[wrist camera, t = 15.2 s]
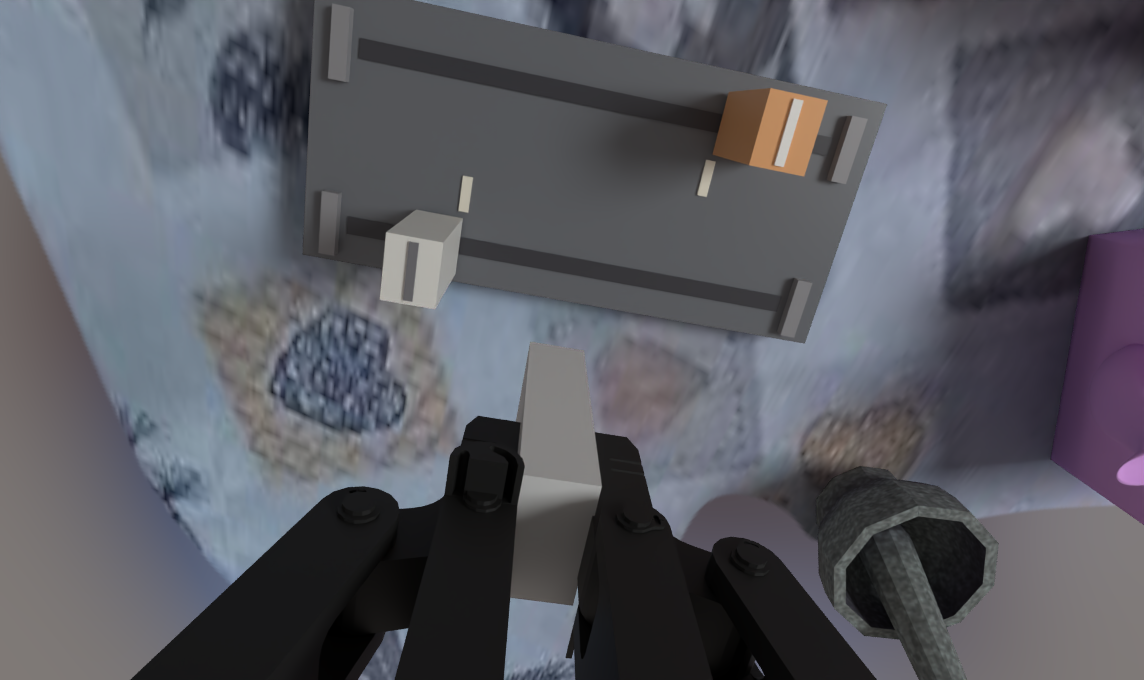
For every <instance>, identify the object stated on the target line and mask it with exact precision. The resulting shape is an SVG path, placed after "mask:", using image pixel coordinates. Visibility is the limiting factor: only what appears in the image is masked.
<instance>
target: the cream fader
mask: <svg viewBox="0 0 1144 680" xmlns="http://www.w3.org/2000/svg"><path fill="white" fill-rule="evenodd" d="M462 221H463V218H458V217H453V216H448V215H442V214H437V213H432V212H426V211H421V210H415V211H414V212H412V213H411V214H410V215H408V216H407V217H406V218H404V219H403V220H402V221H400V222H399V223H398V224H396V225H395V226H394V227H392V228H391V229H390V230H388V231H387V232H386V239H385V250H384V261H383V272H382V282H381V293H380V300H384V301H390V302H396V303H402V304H407V305H413V306H419V307H425V308H431V309H436V307H437V305H438V303H439V302H440V300H441V298H442V297H443V295H444V293H445V291H446V290H447V288H448V286H449V284H450V283H451V281H452V279H453V277H454V276H455V274H456V266H457V259H458V251H459V244H460V236H461V229H462Z"/></svg>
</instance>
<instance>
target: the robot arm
mask: <svg viewBox="0 0 1144 680" xmlns="http://www.w3.org/2000/svg"><path fill="white" fill-rule="evenodd" d="M577 586H578V598H579V605H578V609H577V613H576V617H575V621H574V625H573V629H572V633H571V637H570V641H569V645H568V649H567V654H566V658H572V655H573V651H574V657H575V680H877V679H876V678H875V677H874V676H873V675H872V673H871V672H870V671H869V669H868V668H867V667H866V666H865V664H864V663H863V662H862V661H861V659H860V658H859V657H858V656H857V654H856V653H855V652H854V651H853V649H852V648H851V647H850V646H849V644H848V643H847V642H846V641H845V640H844V638H843V637H842V636H841V634H840V633H839V632H838V631H837V629H836V628H835V627H834V626H833V625H832V623H831V622H830V621H829V620H828V618H827V617H826V616H825V615H824V613H823V612H822V611H821V610H820V608H819V607H818V606H817V605H816V604H815V602H814V601H813V600H812V598H811V597H810V596H809V595H808V594H807V592H806V591H805V590H804V589H803V587H802V586H801V585H800V584H799V582H798V581H797V580H796V578H795V577H794V576H793V575H792V574H791V572H790V571H789V570H788V569H787V567H786V566H785V565H784V564H783V562H782V561H781V560H780V559H779V558H778V557H777V556H776V555H775V554H774V553H773V552H772V551H770V550H769V549H767V548H765V547H764V546H762V545H760V544H759V543H756V542H754V541H750V540H748V539H744V538H737V537H728V538H723V539H720V540H719V541H717V542H716V543H715V544H714V546H713V549H712V552H708V551H705V550H703V549H700V548H697V547H694V546H692V545H689V544H687V543H684V542H682V541H680V540H678V539H677V538H675V537H673V535H672V531H671V528H670V525H669V523H668V522H667V520H666V518H665V517H664V516H663V515H662V514H660V513H659V512H658V511H657V510H656V509H654V508H653V507H652V503H651V499H650V495H649V491H648V487H647V483H646V479H645V476H644V471H643V467H642V465H641V459H640V455H639V451H638V449H637V448H636V447H635V446H634V445H633V444H632V443H631V441H630V440H629V439H628V438H627V437H621V436H615V435H609V434H602V433H596V432H595V431H594V424H593V416H592V409H591V401H590V394H589V386H588V378H587V371H586V363H585V356H584V351H583V350H577V349H571V348H565V347H559V346H553V345H547V344H541V343H535V342H530V346H529V352H528V357H527V363H526V368H525V374H524V380H523V385H522V391H521V396H520V402H519V407H518V413H517V418H516V422H514V421H508V420H501V419H495V418H489V417H482V416H477V417H476V418H475V419H474V420H472V421H471V422H470V423H469V424H467V425H466V428H465V432H464V436H463V440H462V443H461V446H459V447H457V448H455V449H454V451H453V452H452V453H451V455H450V460H449V467H448V474H447V481H446V488H445V495H444V496H443V497H442V498H441V499H440V500H438V501H436V502H434V503H432V504H429V505H426V506H422V507H416V508H407V509H399V506H398V502H397V501H396V500H395V499H394V498H393V497H392V496H391V495H390V494H388V493H386V492H384V491H382V490H380V489H376V488H370V487H364V486H362V487H347V488H344V489H341V490H337V491H334V492H332V493H331V494H329V495H328V496H326V497H324V498H323V499H322V500H321V501H320V502H319V503H318V504H316V505H315V506H314V507H313V508H312V509H311V510H310V511H309V512H308V513H307V514H306V515H305V516H304V517H303V518H302V519H301V520H299V521H298V522H297V523H296V524H295V525H294V526H293V527H292V528H291V529H290V530H289V531H288V532H287V533H286V534H285V535H284V536H282V537H281V538H280V539H279V540H278V541H277V542H276V543H275V544H274V545H273V546H272V547H271V548H270V549H269V550H268V551H267V552H265V553H264V554H263V555H262V556H261V557H260V558H259V559H258V560H257V561H256V562H255V563H254V564H253V565H252V566H251V567H250V568H248V569H247V570H246V571H245V572H244V573H243V574H242V575H241V576H240V577H239V578H238V579H237V580H236V581H235V582H234V583H233V584H231V585H230V586H229V587H228V588H227V589H226V590H225V591H224V592H223V593H222V594H221V595H220V596H219V597H218V598H217V599H216V600H215V601H214V602H212V603H211V604H210V605H209V606H208V607H207V608H206V609H205V610H204V611H203V612H202V613H201V614H200V615H199V616H198V617H196V618H195V619H194V620H193V621H192V622H191V623H190V624H189V625H188V626H187V627H186V628H185V629H184V630H183V631H182V632H181V633H180V634H178V635H177V636H176V637H175V638H174V639H173V640H172V641H171V642H170V643H169V644H168V645H167V646H166V647H165V648H164V649H162V650H161V651H160V652H159V653H158V654H157V655H156V656H155V657H154V658H153V659H152V660H151V661H150V662H149V663H148V664H147V665H146V666H144V667H143V668H142V669H141V670H140V671H139V672H138V673H137V674H136V675H135V676H134V677H133V678H132V679H131V680H358V678H359V677H360V675H361V674H362V672H363V670H364V669H365V667H366V666H367V664H368V663H369V661H370V660H371V658H372V656H373V655H374V653H375V652H376V650H377V649H378V647H379V646H380V644H381V642H382V640H383V637H384V635H385V632H386V631H393V630H399V629H406V628H408V632H407V636H406V639H405V643H404V647H403V651H402V654H401V658H400V662H399V665H398V669H397V673H396V677H395V680H504V668H505V655H506V643H507V630H508V618H509V605H510V598H518V599H526V600H533V601H541V602H549V603H557V604H565V605H573V603H574V599H575V595H576V591H577ZM755 660H756V661H757V663H758V664H759V666H760V667H761V669H762V671H763V673H764V675H765V676H763V674H762V673H761V672H760V670H759V669H758V667H757V665H756V664H755Z"/></svg>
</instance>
